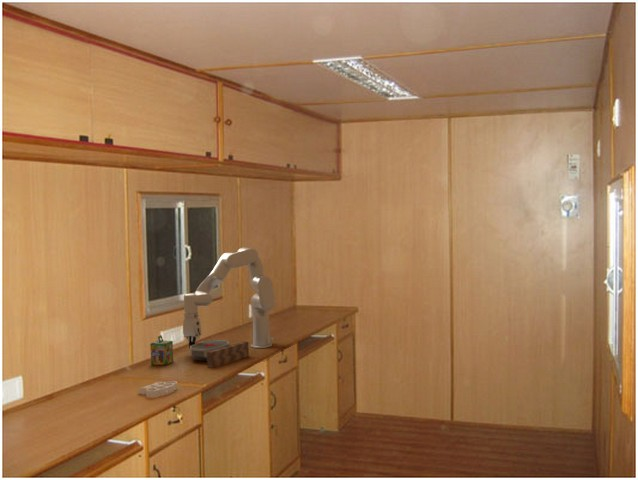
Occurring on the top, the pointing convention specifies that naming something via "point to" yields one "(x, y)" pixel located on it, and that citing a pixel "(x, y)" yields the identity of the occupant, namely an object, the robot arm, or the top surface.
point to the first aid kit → (206, 348)
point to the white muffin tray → (159, 389)
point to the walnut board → (227, 354)
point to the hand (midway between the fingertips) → (192, 348)
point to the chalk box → (161, 352)
